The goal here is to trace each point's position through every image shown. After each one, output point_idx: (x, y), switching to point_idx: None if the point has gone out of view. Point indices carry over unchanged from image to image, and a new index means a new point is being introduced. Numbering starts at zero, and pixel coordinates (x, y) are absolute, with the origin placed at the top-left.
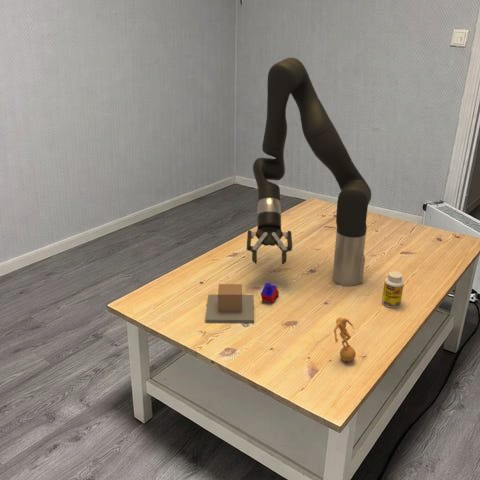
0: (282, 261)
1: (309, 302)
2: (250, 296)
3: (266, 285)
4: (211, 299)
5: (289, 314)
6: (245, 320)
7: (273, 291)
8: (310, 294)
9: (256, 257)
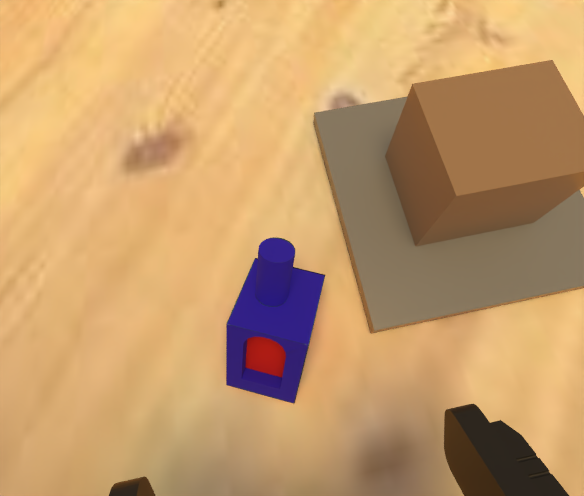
0: (136, 479)
1: (47, 351)
2: (386, 307)
3: (288, 249)
4: (580, 231)
5: (160, 215)
6: (351, 107)
7: (244, 285)
8: (30, 452)
9: (479, 449)
